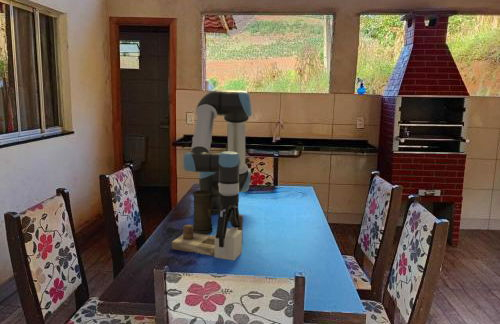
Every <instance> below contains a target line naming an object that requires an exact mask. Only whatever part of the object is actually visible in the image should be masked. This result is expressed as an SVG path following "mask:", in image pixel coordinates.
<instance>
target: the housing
mask: <svg viewBox="0 0 500 324" xmlns="http://www.w3.org/2000/svg"><path fill="white" fill-rule="evenodd" d="M214 236H215V255H214V258H217V259H223V260H227V261H228V260H229V261H235V260H236V259H237V258H238V257H239V256H240V255H241V254H242V253H243V235H242V231H241V230H234V229H231V228H227V231H226V236H225V238H226V255H219V239H218V238H216V233H215V234H214Z"/></svg>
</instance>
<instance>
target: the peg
mask: <svg viewBox="0 0 500 324" xmlns="http://www.w3.org/2000/svg"><path fill="white" fill-rule="evenodd" d="M243 216H244V215H243V214H241V213H239V217H240V224H238V225H240V228H239V227H237V228H238V230H241V231H242V236H243V232H244V231H243V229H244V228H243V225H244V224H243V223H244V221H243V220H244V217H243ZM237 221H238V220H237Z"/></svg>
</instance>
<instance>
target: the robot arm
mask: <svg viewBox="0 0 500 324" xmlns="http://www.w3.org/2000/svg"><path fill="white" fill-rule="evenodd" d="M252 112H253V111H252V102H251V96H250V93H249V91H246V90H219V89H218V90H212V91H209V92H208V93H206V94H205V95H204V96H203V97H202V98H201V99H200V100H199V102H198V103H197V105H196V109H195V115H196V122H195V126H194V127H195V128H194V133H193V136H192V137H193V138H192V143H191V149H190V151H189V152H185V153H184V155H183V158H182V159H183V160H182V164H183V166H182V167H183V169H184V171H186V172H193V173H199V175H198V183H199V184H198V187H199V188H198V190H209V191H211V192H212V195H211V215H217V216H218V219H217V223H216V224H217V225H216V231H215V234H216V238H218V239H219V255H226V238H225V236H226V231H227V229H228V227H229V226H228V225H229V222H230V225H231V226H230V229H234V230H238V228H237V227H239V228H240V225H238V224H240V217H239V214H240V211H239V202H240V200H239V199H240V194H239V193H242V192H245V193H246V192H248V190H249V189H250V184H251V175H252V170H251V169H250V168H249V167H248V165H247V164H246V123H247V122H248V121H249V117H252ZM218 116H221V117H223V120H224V121H225V122H226V124H227V151H221V152H211V146H212V145H211V144H212V138H213V137H212V136H213V130H214V124H215V119H216V118H217V117H218ZM237 220H238V221H237Z"/></svg>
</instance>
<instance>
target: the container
mask: <svg viewBox="0 0 500 324" xmlns="http://www.w3.org/2000/svg"><path fill="white" fill-rule="evenodd" d="M211 195H212V192H211V191H209V190H199V189H198V190H195V191H193V192H192V196H193V224H192V225H193V233H198V234H204V235H208V234H210V233H212V232H213V230H214V229H213V223H212V220H213V219H212V214H211Z"/></svg>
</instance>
